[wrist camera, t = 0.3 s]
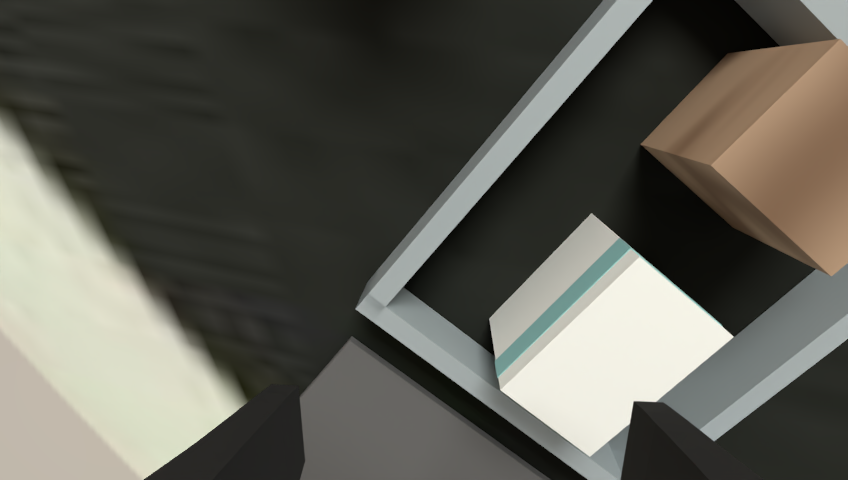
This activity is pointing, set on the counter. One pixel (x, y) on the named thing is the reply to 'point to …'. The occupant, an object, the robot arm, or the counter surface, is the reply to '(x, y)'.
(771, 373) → the tray rim
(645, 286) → the carton
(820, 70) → the tan block
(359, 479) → the gray panel
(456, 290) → the counter surface
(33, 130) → the counter surface
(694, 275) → the counter surface
